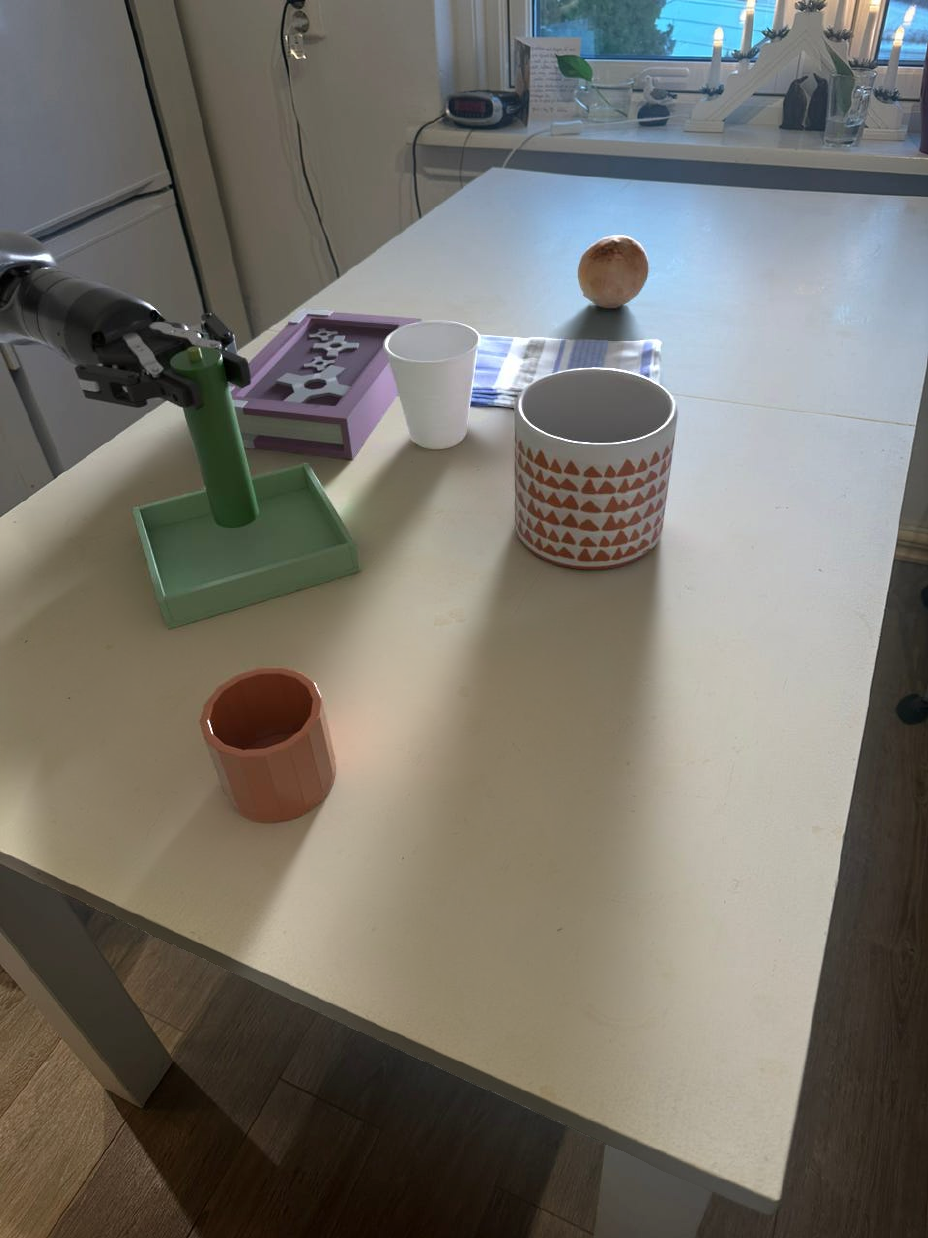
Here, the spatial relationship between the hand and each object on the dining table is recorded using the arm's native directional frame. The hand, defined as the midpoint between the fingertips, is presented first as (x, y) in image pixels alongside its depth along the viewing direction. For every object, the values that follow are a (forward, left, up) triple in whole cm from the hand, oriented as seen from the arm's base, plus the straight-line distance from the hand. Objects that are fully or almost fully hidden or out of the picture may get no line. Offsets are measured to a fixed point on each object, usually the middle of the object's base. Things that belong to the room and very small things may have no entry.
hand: (221, 385), depth 68 cm
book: (+15, +28, -18) cm, 36 cm away
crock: (-5, -25, -18) cm, 31 cm away
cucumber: (-1, +2, -13) cm, 14 cm away
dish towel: (+41, +18, -18) cm, 48 cm away
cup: (+23, +13, -18) cm, 32 cm away
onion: (+58, +35, -18) cm, 70 cm away
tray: (-1, +2, -18) cm, 18 cm away
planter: (+29, -9, -18) cm, 35 cm away
